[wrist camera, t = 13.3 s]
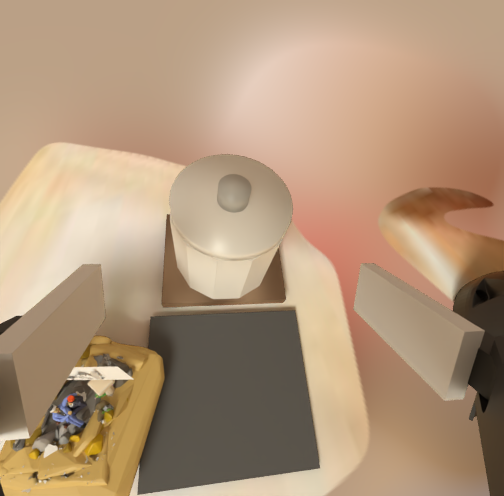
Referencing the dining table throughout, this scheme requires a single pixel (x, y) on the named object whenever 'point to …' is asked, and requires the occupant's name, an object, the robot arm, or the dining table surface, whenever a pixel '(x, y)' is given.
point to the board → (182, 295)
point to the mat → (227, 401)
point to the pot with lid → (227, 223)
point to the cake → (89, 427)
